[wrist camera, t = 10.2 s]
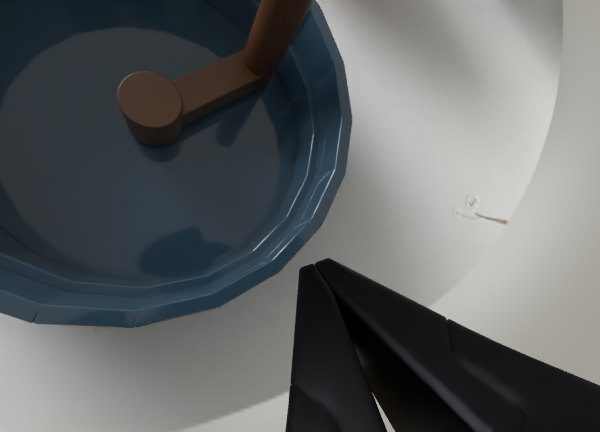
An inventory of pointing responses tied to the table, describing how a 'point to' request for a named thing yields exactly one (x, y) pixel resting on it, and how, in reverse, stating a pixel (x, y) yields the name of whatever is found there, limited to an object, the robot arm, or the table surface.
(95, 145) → the bowl
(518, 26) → the table surface
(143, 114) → the crank handle
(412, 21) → the table surface
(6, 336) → the table surface
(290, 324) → the table surface
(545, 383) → the robot arm
